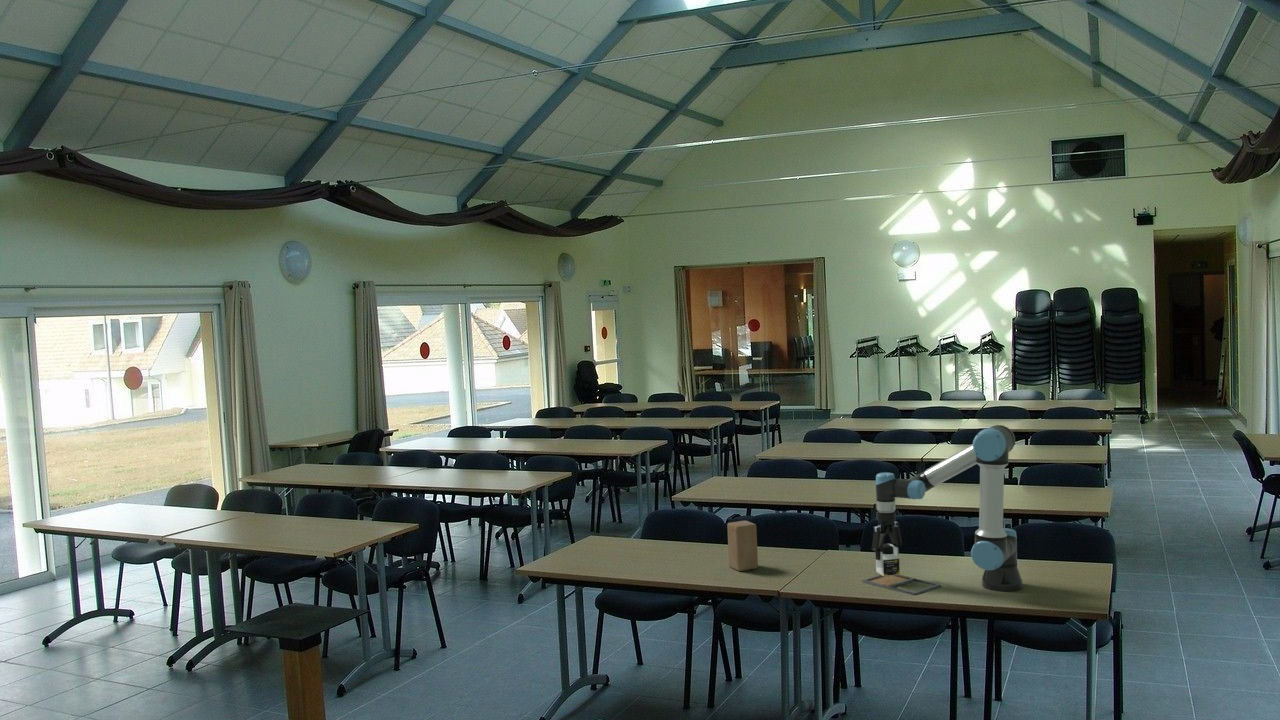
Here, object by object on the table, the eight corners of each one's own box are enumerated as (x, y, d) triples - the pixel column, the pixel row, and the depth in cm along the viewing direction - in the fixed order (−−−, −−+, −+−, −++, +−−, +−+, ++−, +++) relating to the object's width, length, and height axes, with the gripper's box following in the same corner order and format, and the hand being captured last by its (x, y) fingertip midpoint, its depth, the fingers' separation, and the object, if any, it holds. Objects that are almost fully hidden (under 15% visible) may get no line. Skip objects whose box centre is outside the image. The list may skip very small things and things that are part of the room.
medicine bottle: (883, 576, 395) (882, 547, 395) (876, 572, 402) (875, 543, 402) (900, 575, 397) (899, 545, 396) (891, 570, 404) (891, 541, 403)
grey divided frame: (941, 586, 389) (941, 584, 389) (914, 595, 379) (914, 593, 379) (889, 574, 410) (889, 572, 410) (862, 582, 400) (862, 580, 400)
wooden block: (738, 572, 424) (736, 526, 423) (728, 567, 433) (726, 522, 432) (759, 569, 428) (757, 523, 427) (748, 563, 437) (746, 519, 436)
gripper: (895, 505, 408) (897, 558, 409) (861, 513, 395) (862, 568, 396) (910, 507, 402) (912, 561, 403) (875, 516, 389) (877, 572, 390)
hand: (887, 565), depth 399 cm, fingers closed on medicine bottle, 9 cm apart
